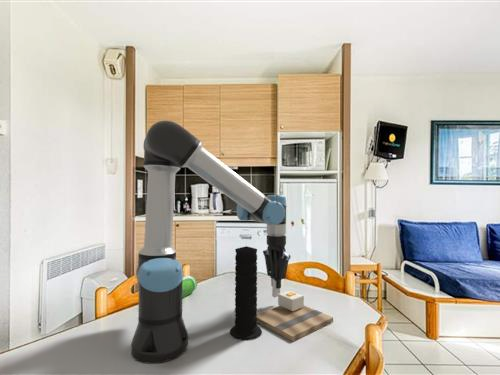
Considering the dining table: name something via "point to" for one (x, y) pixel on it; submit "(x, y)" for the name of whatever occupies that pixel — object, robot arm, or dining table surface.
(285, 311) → the subfloor panel
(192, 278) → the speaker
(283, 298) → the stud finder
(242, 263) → the handle grip
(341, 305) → the dining table surface
